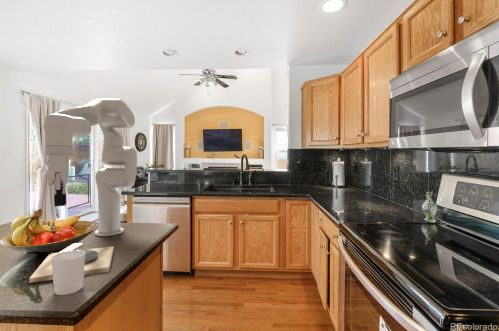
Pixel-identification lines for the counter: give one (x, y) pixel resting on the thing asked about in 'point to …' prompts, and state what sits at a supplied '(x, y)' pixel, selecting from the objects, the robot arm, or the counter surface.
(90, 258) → the dial
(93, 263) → the dial panel
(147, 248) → the counter surface
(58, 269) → the white cup
